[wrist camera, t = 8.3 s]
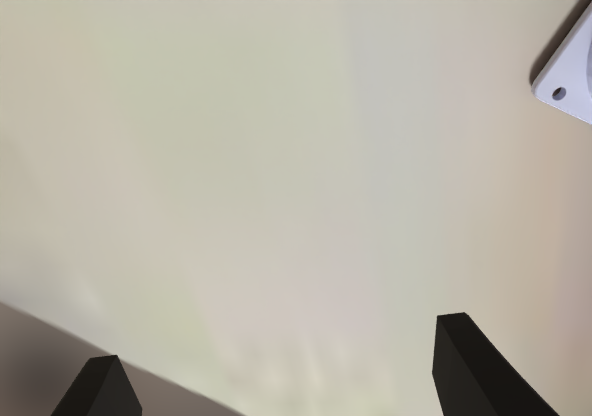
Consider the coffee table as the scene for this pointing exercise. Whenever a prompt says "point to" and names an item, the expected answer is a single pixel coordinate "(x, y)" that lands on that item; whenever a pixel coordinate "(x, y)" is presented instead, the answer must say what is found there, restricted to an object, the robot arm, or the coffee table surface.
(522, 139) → the coffee table surface
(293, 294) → the coffee table surface
